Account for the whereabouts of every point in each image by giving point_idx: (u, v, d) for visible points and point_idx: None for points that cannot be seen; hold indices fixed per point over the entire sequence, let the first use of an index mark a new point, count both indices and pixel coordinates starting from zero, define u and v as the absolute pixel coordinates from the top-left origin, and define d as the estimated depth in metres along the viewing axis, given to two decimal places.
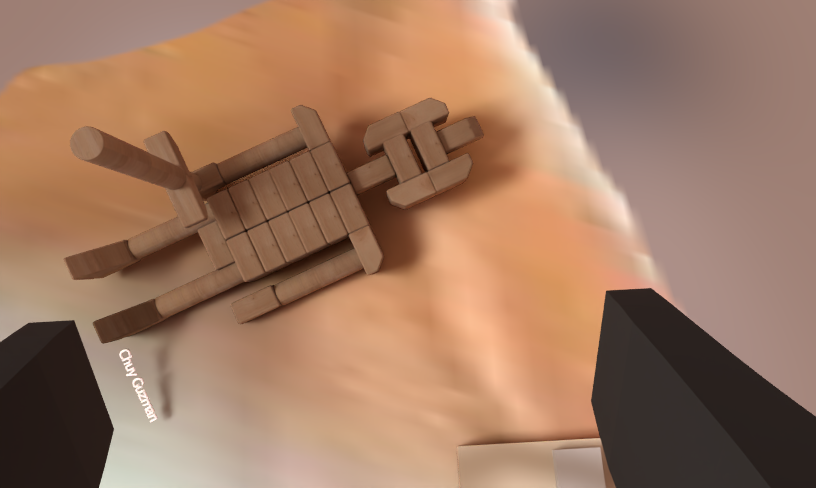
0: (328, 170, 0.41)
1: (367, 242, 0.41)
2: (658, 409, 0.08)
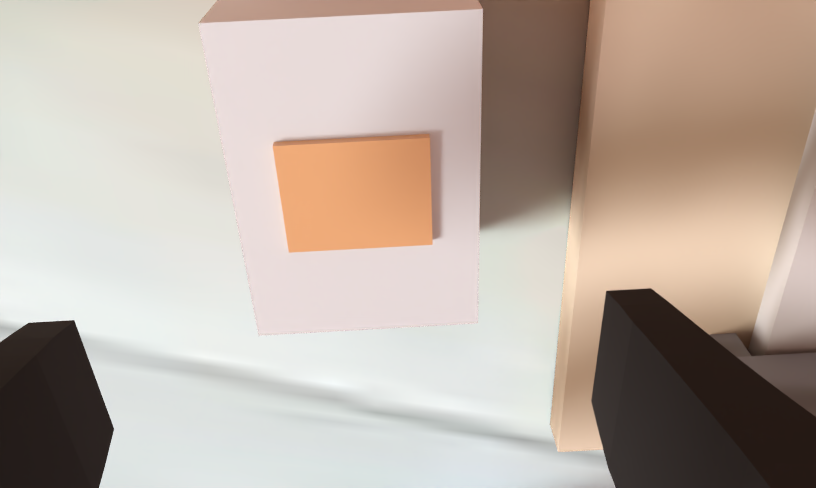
0: None
1: None
2: (658, 410, 0.08)
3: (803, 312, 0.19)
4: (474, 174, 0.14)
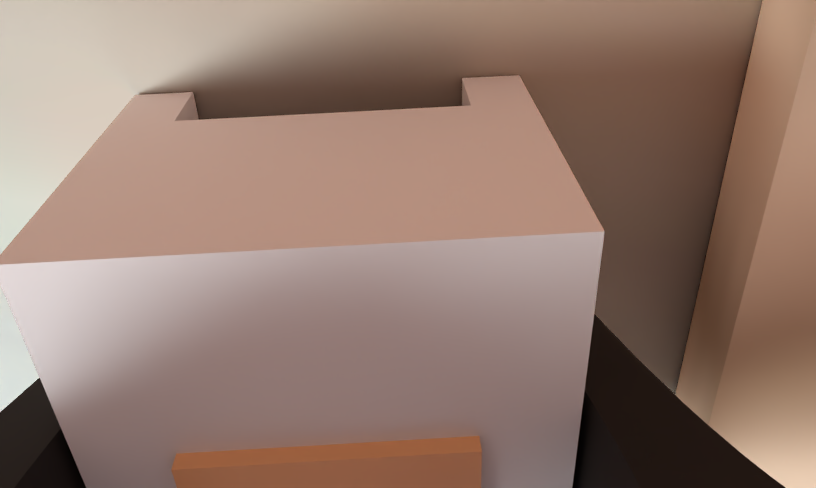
0: None
1: None
2: None
3: None
4: None
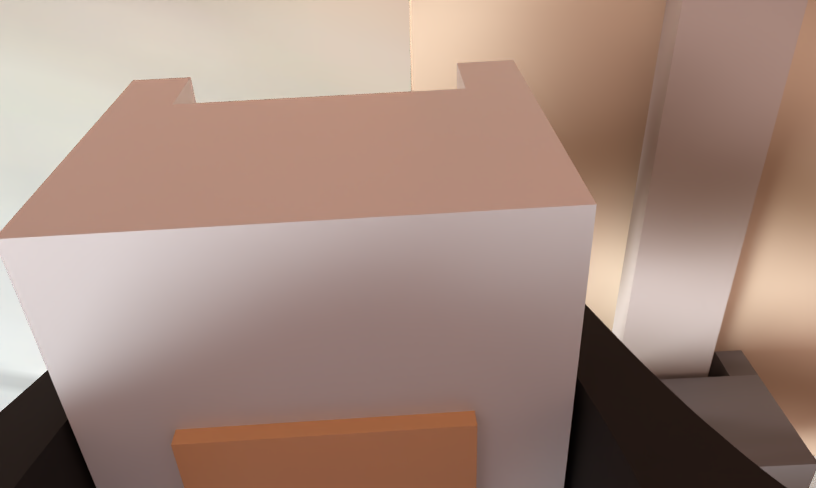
0: None
1: None
2: None
3: (649, 338, 0.18)
4: (555, 467, 0.08)
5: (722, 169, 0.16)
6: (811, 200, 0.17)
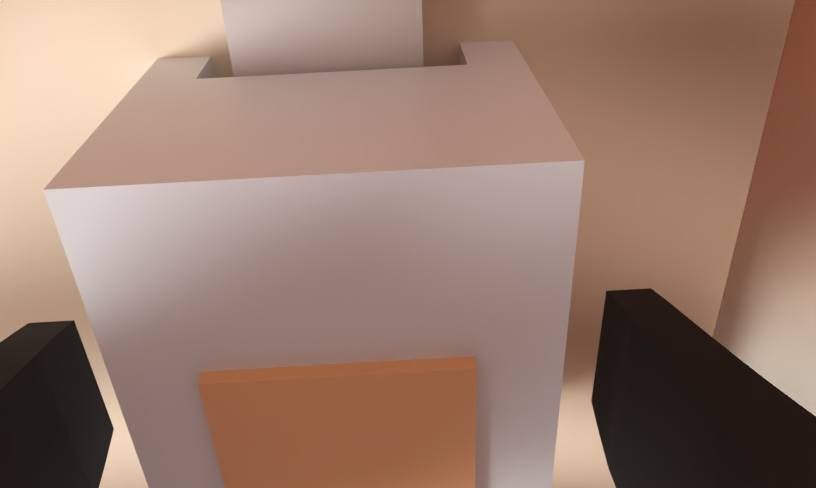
0: None
1: None
2: (657, 408, 0.08)
3: None
4: (549, 412, 0.08)
5: None
6: None
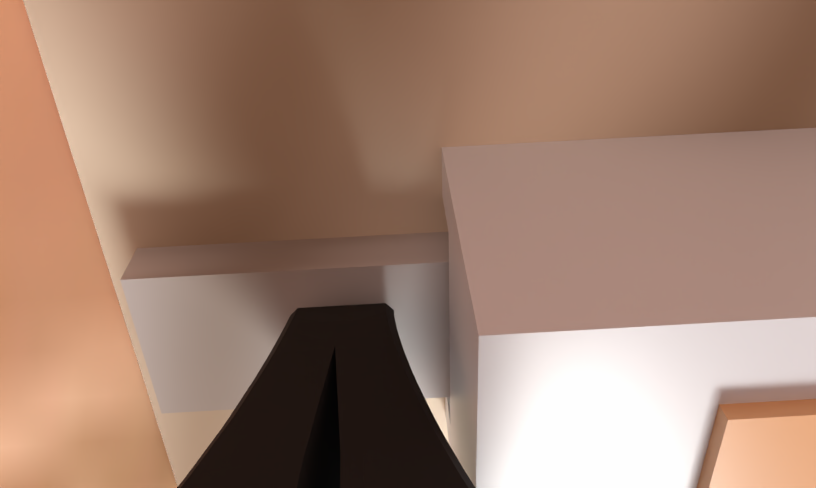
0: None
1: None
2: None
3: None
4: None
5: None
6: (808, 88, 0.09)
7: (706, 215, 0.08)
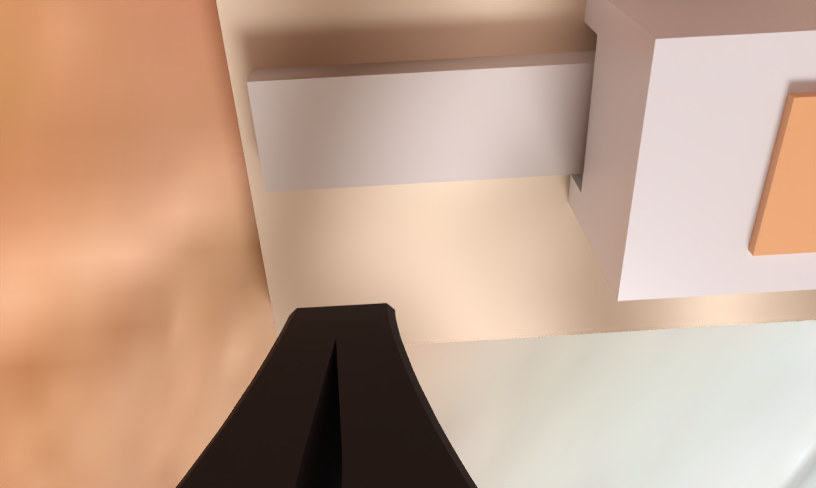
0: None
1: None
2: None
3: None
4: None
5: None
6: None
7: (774, 2, 0.12)
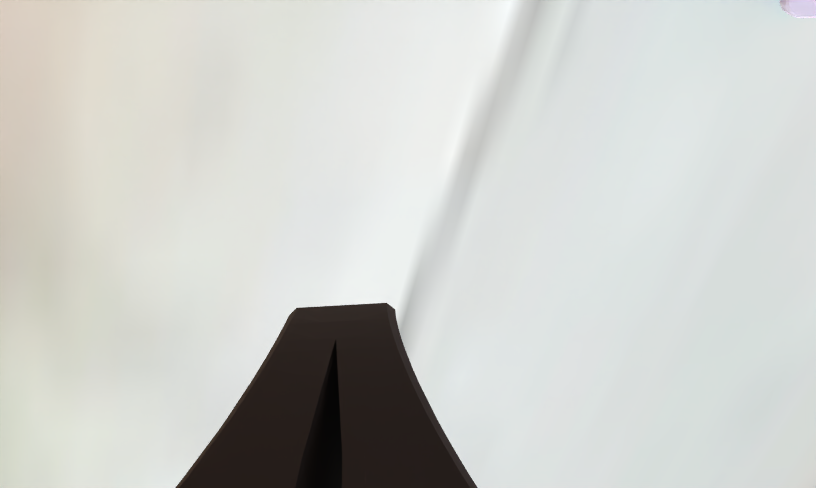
0: None
1: None
2: None
3: None
4: None
5: None
6: None
7: None
